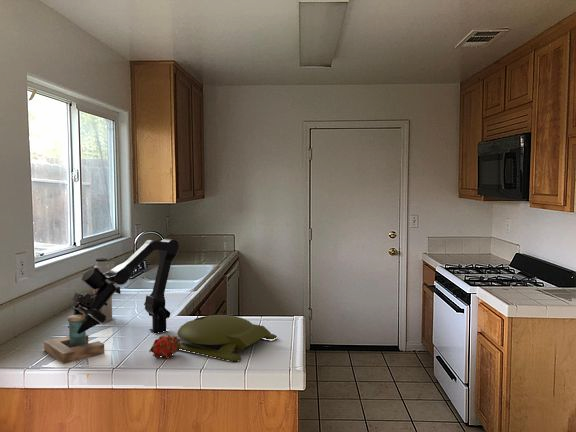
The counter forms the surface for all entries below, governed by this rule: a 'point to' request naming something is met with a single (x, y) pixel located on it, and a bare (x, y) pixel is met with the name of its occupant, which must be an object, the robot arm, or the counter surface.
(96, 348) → the cutout shelf
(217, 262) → the counter surface
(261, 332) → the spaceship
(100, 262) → the thermos bottle
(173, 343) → the dragon fruit
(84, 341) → the cord reel
